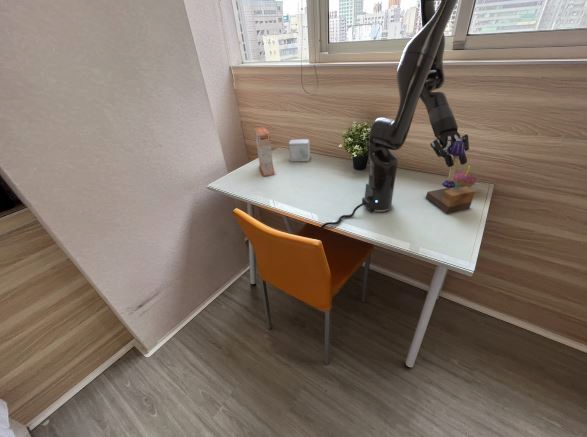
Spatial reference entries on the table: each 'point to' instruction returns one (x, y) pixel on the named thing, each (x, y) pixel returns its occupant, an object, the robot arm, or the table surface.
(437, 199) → the tiered shelf
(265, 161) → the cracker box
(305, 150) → the cosmetics box
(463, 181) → the cupcake
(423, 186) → the table surface
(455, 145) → the toy lamp
